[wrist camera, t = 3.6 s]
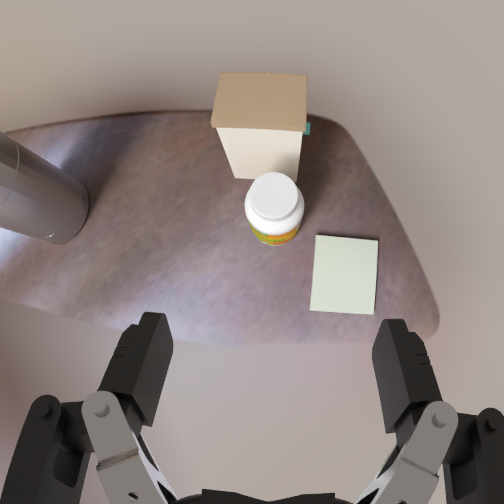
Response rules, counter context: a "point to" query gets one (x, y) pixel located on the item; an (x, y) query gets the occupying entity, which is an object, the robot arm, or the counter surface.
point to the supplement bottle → (274, 208)
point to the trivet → (344, 275)
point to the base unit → (261, 121)
